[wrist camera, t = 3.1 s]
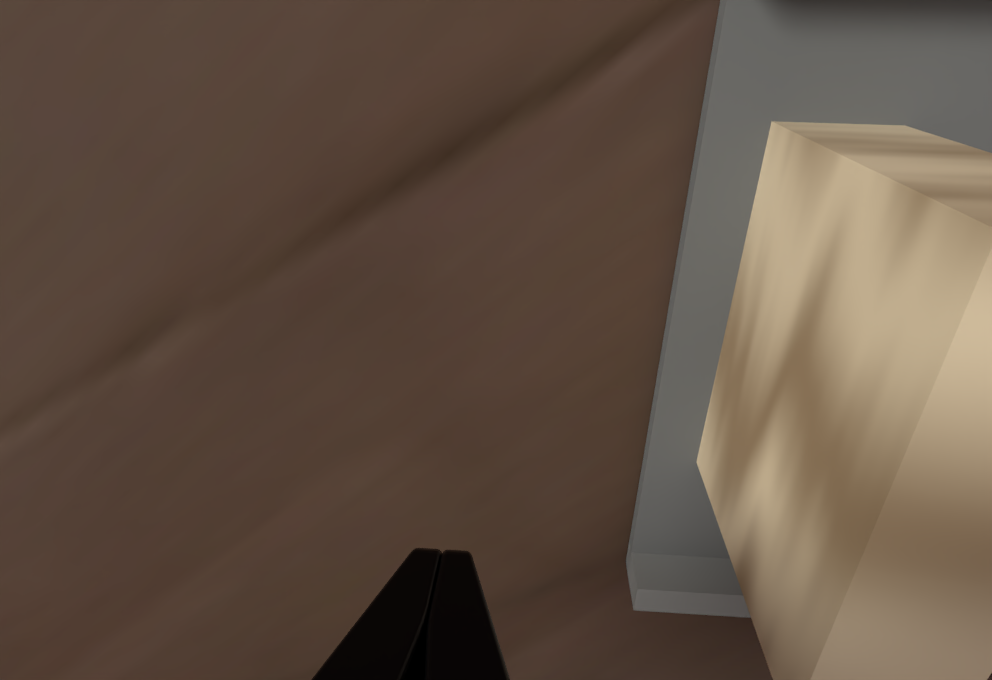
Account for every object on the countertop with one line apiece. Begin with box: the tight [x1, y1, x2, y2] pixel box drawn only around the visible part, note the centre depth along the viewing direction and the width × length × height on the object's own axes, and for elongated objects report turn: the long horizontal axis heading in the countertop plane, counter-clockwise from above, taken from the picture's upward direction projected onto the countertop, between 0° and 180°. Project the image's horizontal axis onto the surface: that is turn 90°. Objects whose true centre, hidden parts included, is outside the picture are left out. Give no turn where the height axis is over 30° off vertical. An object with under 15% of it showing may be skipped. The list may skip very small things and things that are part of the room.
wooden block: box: [697, 121, 992, 680], centre depth 13 cm, size 10×3×8 cm, turn 179°
